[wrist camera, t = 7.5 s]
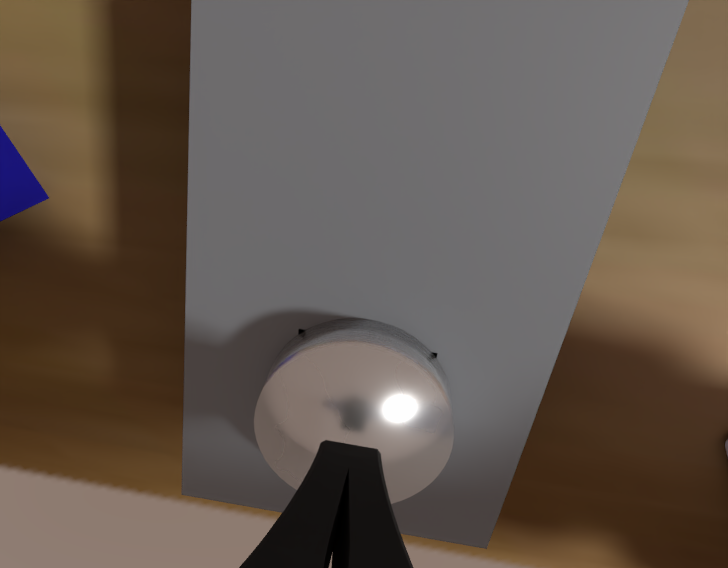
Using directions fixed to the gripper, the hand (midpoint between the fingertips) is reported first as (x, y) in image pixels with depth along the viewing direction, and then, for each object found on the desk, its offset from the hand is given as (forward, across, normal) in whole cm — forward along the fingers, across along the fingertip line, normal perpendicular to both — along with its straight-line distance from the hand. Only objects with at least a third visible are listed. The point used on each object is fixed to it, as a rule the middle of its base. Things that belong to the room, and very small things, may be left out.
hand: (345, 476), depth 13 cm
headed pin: (+6, 0, 0) cm, 6 cm away
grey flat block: (+7, 0, -4) cm, 8 cm away
